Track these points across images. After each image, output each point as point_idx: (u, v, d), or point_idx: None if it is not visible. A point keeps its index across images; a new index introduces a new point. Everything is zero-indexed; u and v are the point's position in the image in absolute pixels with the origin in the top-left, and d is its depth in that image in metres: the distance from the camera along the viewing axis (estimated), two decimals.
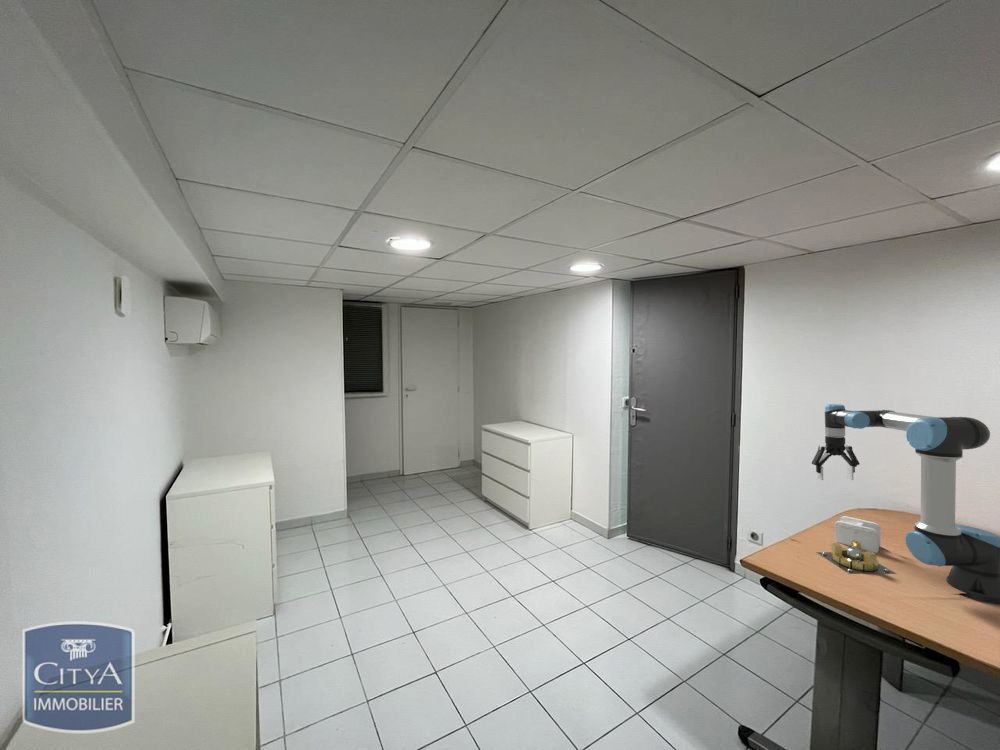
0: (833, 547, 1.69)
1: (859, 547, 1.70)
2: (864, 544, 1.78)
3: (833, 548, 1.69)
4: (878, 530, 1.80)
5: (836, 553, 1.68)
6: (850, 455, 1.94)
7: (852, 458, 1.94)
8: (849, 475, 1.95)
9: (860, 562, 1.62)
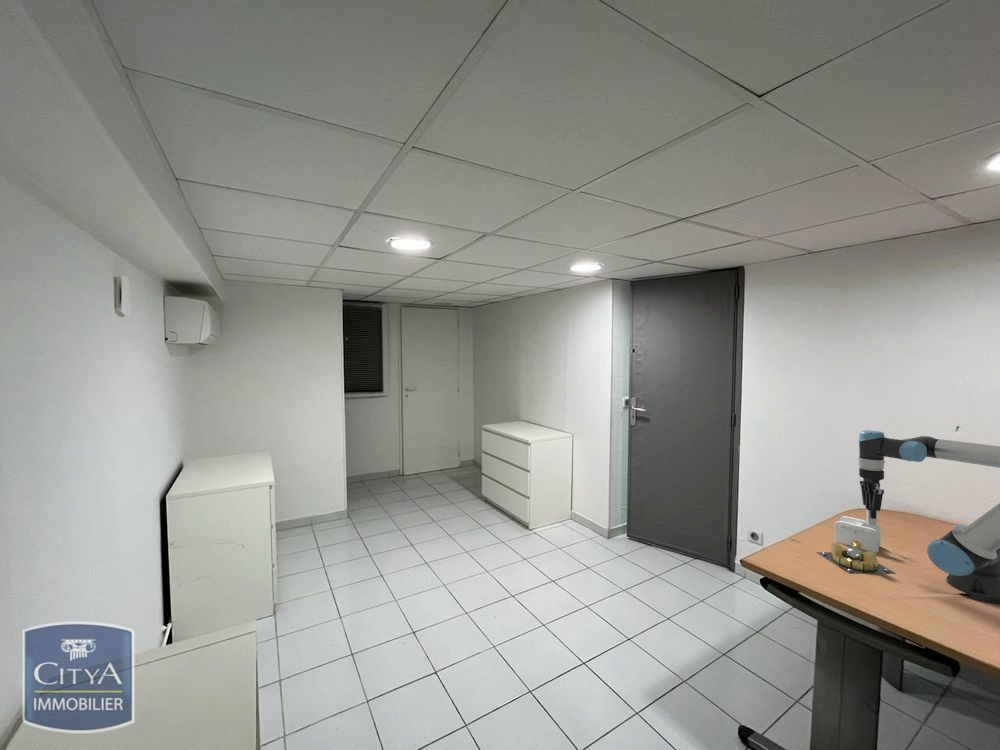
0: (833, 547, 1.69)
1: (859, 547, 1.70)
2: (864, 544, 1.78)
3: (833, 548, 1.69)
4: (878, 530, 1.80)
5: (836, 553, 1.68)
6: None
7: None
8: None
9: (860, 562, 1.62)
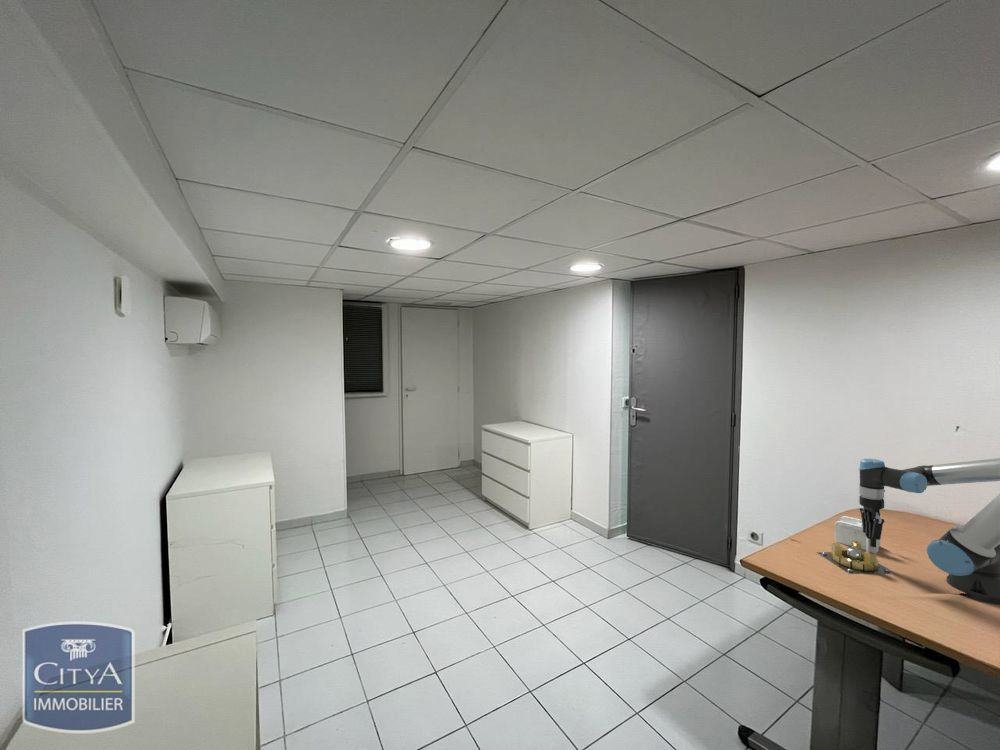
0: (833, 547, 1.69)
1: (859, 547, 1.70)
2: (864, 544, 1.78)
3: (833, 548, 1.69)
4: None
5: (836, 553, 1.68)
6: None
7: None
8: None
9: (860, 562, 1.62)
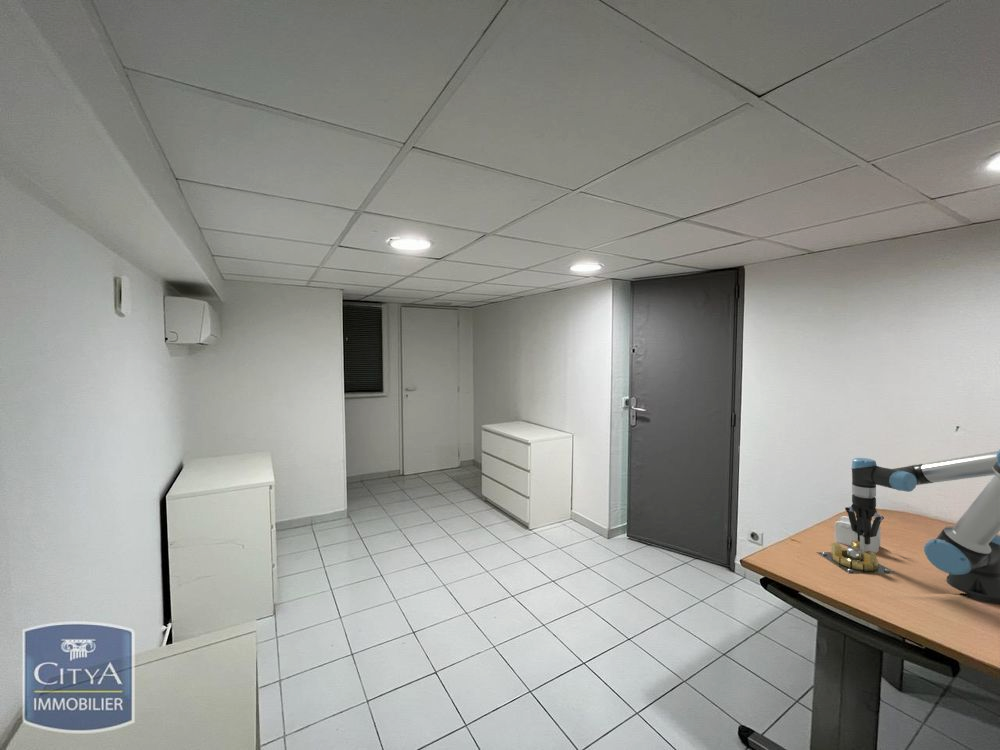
0: (833, 547, 1.69)
1: (859, 547, 1.70)
2: None
3: (833, 548, 1.69)
4: (878, 530, 1.80)
5: (836, 553, 1.68)
6: None
7: None
8: None
9: (860, 562, 1.62)
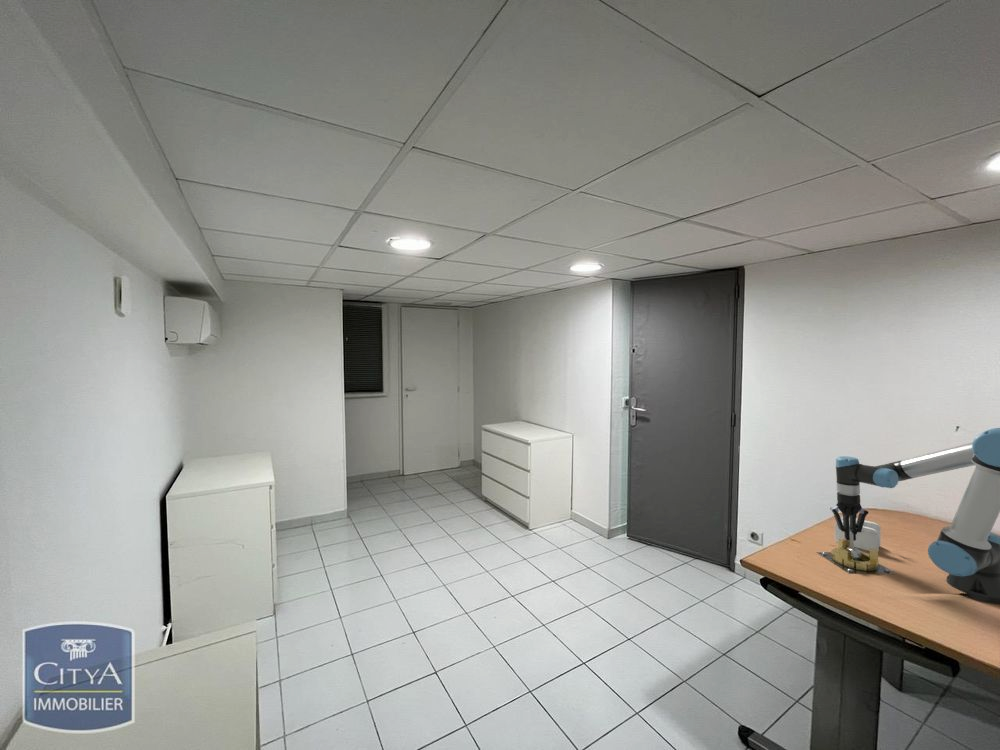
0: (844, 552, 1.64)
1: (849, 545, 1.72)
2: (864, 544, 1.78)
3: (843, 553, 1.64)
4: (878, 530, 1.80)
5: (848, 558, 1.63)
6: (859, 519, 1.71)
7: (858, 523, 1.71)
8: None
9: (870, 562, 1.62)
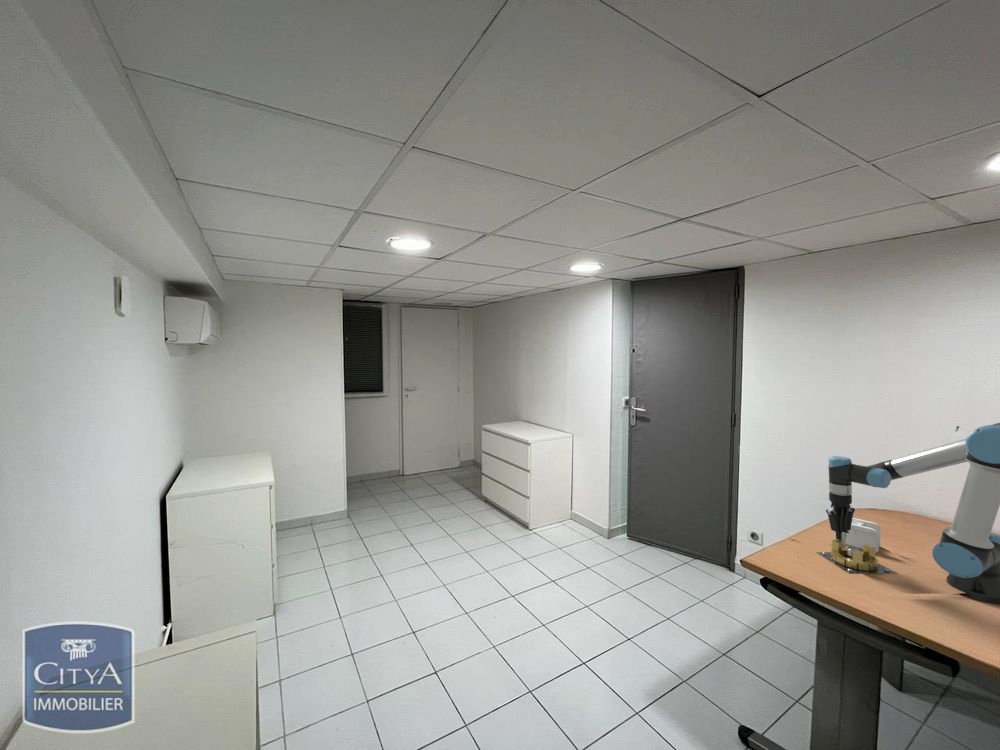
0: (858, 556, 1.61)
1: (841, 545, 1.72)
2: (864, 544, 1.78)
3: (858, 557, 1.61)
4: (878, 530, 1.80)
5: None
6: (847, 517, 1.74)
7: (847, 521, 1.73)
8: None
9: (873, 559, 1.64)
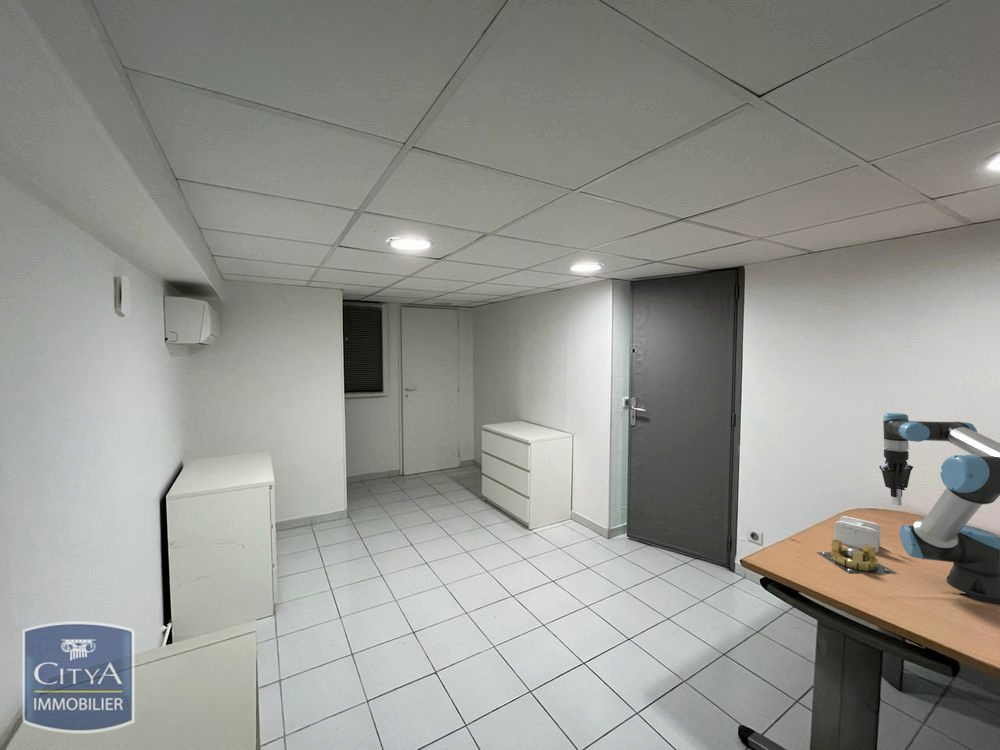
0: (858, 556, 1.61)
1: (841, 545, 1.72)
2: (864, 544, 1.78)
3: (858, 557, 1.61)
4: (878, 530, 1.80)
5: None
6: (904, 475, 1.71)
7: (903, 478, 1.71)
8: None
9: (873, 559, 1.64)
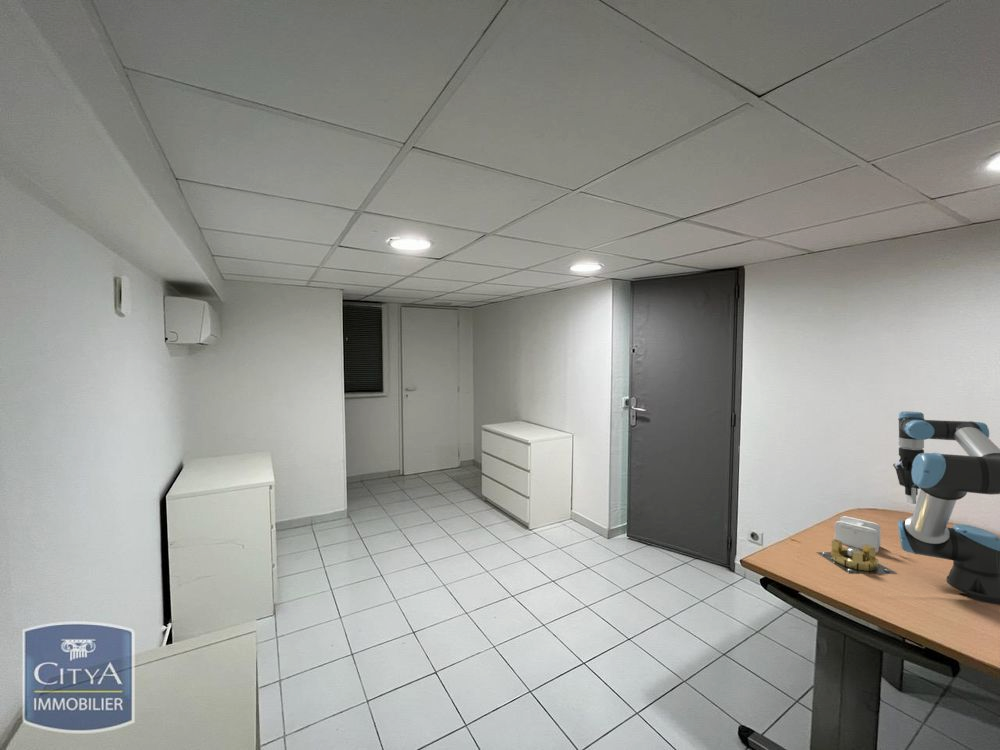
0: (858, 556, 1.61)
1: (841, 545, 1.72)
2: (864, 544, 1.78)
3: (858, 557, 1.61)
4: (878, 530, 1.80)
5: None
6: None
7: None
8: None
9: (873, 559, 1.64)
